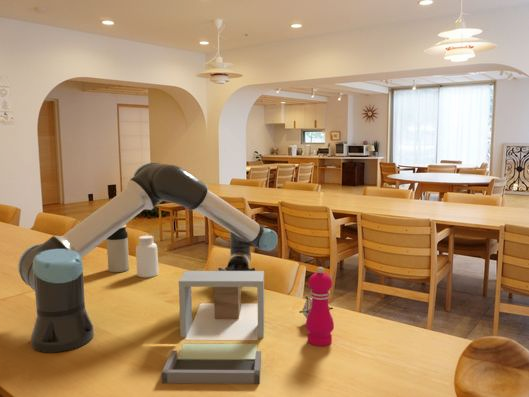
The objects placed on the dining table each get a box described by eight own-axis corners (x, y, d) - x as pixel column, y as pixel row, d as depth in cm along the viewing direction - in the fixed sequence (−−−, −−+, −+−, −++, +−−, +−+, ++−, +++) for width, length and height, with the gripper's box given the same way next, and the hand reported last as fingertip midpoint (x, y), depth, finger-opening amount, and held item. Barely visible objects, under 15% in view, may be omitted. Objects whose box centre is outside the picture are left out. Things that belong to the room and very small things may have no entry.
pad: (186, 338, 124) (186, 336, 124) (257, 338, 123) (257, 337, 123) (177, 360, 112) (177, 358, 112) (256, 361, 112) (255, 359, 111)
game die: (321, 337, 132) (331, 319, 125) (293, 325, 133) (301, 306, 127) (329, 313, 139) (339, 294, 132) (302, 301, 140) (310, 282, 133)
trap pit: (172, 360, 112) (171, 350, 112) (261, 360, 112) (260, 351, 111) (162, 383, 102) (161, 372, 102) (259, 383, 101) (259, 373, 101)
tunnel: (196, 305, 148) (194, 256, 145) (265, 305, 147) (265, 256, 145) (179, 341, 122) (177, 283, 120) (263, 342, 121) (262, 283, 119)
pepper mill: (315, 349, 117) (316, 272, 114) (300, 338, 124) (300, 265, 121) (339, 343, 120) (340, 268, 118) (323, 332, 127) (324, 261, 124)
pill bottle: (132, 276, 177) (130, 238, 175) (145, 270, 185) (144, 233, 182) (150, 279, 174) (148, 239, 172) (162, 273, 182) (161, 235, 180)
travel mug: (133, 269, 187) (131, 225, 185) (117, 274, 181) (115, 228, 178) (120, 266, 192) (117, 223, 189) (104, 270, 185) (101, 226, 182)
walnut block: (218, 307, 144) (217, 273, 142) (241, 307, 144) (240, 273, 142) (214, 319, 135) (213, 282, 134) (238, 319, 135) (238, 282, 133)
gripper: (256, 275, 167) (253, 299, 144) (220, 275, 168) (211, 299, 144) (256, 255, 166) (253, 275, 143) (220, 255, 167) (211, 275, 143)
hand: (232, 287), depth 144 cm, fingers closed
